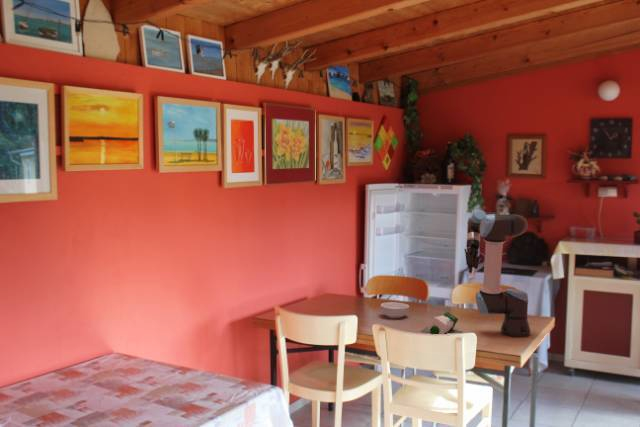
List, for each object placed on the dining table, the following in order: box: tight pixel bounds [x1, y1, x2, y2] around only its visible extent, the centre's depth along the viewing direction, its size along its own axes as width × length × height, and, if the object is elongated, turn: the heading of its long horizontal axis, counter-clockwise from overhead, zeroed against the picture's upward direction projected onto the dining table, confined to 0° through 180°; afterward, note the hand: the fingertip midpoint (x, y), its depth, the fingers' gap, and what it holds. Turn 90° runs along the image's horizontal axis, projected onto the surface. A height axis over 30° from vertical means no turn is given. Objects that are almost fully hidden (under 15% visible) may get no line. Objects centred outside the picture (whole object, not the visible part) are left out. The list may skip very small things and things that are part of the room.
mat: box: [420, 326, 463, 334], centre depth 341 cm, size 20×10×1 cm, turn 63°
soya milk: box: [428, 311, 459, 335], centre depth 337 cm, size 9×9×20 cm
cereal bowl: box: [380, 301, 410, 319], centre depth 373 cm, size 17×17×7 cm
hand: (471, 278), depth 359 cm, fingers closed
